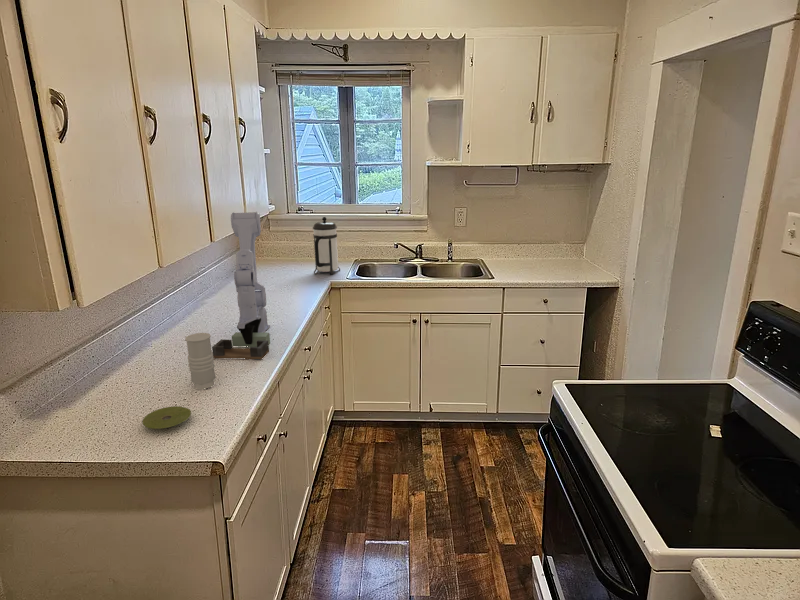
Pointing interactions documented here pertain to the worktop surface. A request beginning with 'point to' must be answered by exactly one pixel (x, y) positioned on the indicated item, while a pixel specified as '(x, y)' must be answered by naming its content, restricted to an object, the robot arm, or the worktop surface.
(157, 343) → the worktop surface
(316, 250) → the coffee press
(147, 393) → the worktop surface
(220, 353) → the end cap cradle
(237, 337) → the stone
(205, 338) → the ribbed grey can
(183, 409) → the olive green disc
